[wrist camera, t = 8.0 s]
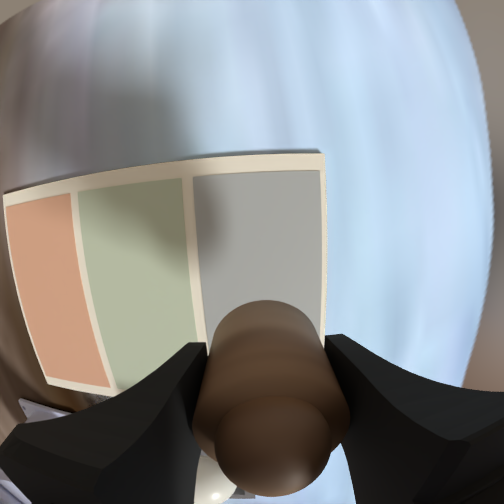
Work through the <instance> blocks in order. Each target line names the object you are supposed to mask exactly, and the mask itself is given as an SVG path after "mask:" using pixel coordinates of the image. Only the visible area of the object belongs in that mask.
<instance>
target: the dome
mask: <svg viewBox="0 0 504 504" xmlns="http://www.w3.org/2000/svg"><path fill="white" fill-rule="evenodd" d="M236 487H237V486H236V485H235V484H233V483H232V482H231V481H230V480H229V479H228V478H227V477H226V476H225V475H224V473H223V472H222V470H221V468H220V467H219V465H218V462H216V461H215V460H213V459H212V458H210V457H209V456H202V455H200V458H199V463H198V468H197V476H196V486H195V496H194V504H221V503H223V502H224V501H226V500H227V499H228V498H230V497H231V496H232V494H233V493H234V491H235V489H236Z"/></svg>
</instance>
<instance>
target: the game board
mask: <svg viewBox="0 0 504 504" xmlns="http://www.w3.org/2000/svg"><path fill="white" fill-rule="evenodd" d="M3 203H4V215H5V225H6V234H7V241H8V248H9V254H10V260H11V265H12V271H13V276H14V280H15V285H16V289H17V293H18V297H19V301H20V305H21V309H22V312H23V316H24V319H25V323H26V326H27V329H28V332H29V335H30V338H31V341H32V344H33V347H34V350H35V353H36V355H37V358H38V361H39V363H40V366H41V368H42V371H43V373H44V376H45V378H46V380H47V383H48V384H50V385H54V386H59V387H63V388H68V389H72V390H77V391H82V392H88V393H93V394H99V395H105V396H112V397H114V396H116V395H118V394H120V393H122V392H123V391H125V390H127V389H129V388H130V387H132V386H133V385H135V384H137V383H138V382H139V381H141V380H142V379H144V378H145V377H146V376H148V375H149V374H150V373H152V372H153V371H155V370H156V369H157V368H159V367H160V366H161V365H162V364H163V363H165V362H166V361H167V360H168V359H169V358H171V357H172V356H173V355H174V354H175V353H176V352H177V351H179V350H180V349H181V348H182V347H183V346H184V345H186V344H187V343H188V342H206V346H207V353H208V355H209V351H210V347H211V343H212V339H213V335H214V332H215V330H216V328H217V326H218V324H219V323H220V321H221V320H222V319H223V318H224V317H225V316H226V315H227V314H228V313H229V312H231V311H232V310H234V309H235V308H237V307H239V306H241V305H243V304H246V303H249V302H253V301H259V300H274V301H280V302H284V303H287V304H290V305H292V306H294V307H296V308H298V309H299V310H300V311H302V312H303V313H304V314H305V315H306V316H307V317H308V318H309V319H310V320H311V322H312V323H313V325H314V327H315V329H316V332H317V334H318V336H319V338H320V341H321V343H322V345H323V348H324V338H325V319H326V293H327V200H326V174H325V155H324V154H263V155H243V156H227V157H214V158H202V159H191V160H182V161H173V162H164V163H156V164H149V165H142V166H135V167H128V168H122V169H116V170H110V171H104V172H99V173H93V174H88V175H83V176H78V177H73V178H69V179H64V180H60V181H55V182H51V183H47V184H42V185H38V186H34V187H30V188H27V189H23V190H19V191H16V192H12V193H8V194H5V195H3Z"/></svg>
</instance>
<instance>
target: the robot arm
mask: <svg viewBox="0 0 504 504" xmlns="http://www.w3.org/2000/svg"><path fill="white" fill-rule="evenodd" d="M324 350H325V352H326V355H327V357H328V359H329V361H330V364H331V366H332V368H333V371H334V373H335V376H336V378H337V380H338V383H339V385H340V387H341V390H342V392H343V394H344V397H345V399H346V402H347V404H348V407H349V410H350V425H349V428H348V431H347V433H346V435H345V437H344V439H343V440H342V441H341V444H342V447H343V450H344V452H345V456H346V459H347V462H348V466H349V471H350V475H351V480H352V484H353V490H354V495H355V500H356V504H504V392H489V391H479V390H472V389H465V388H460V387H455V386H451V385H447V384H443V383H439V382H436V381H433V380H430V379H427V378H424V377H421V376H419V375H416V374H414V373H411V372H409V371H406V370H404V369H402V368H400V367H398V366H396V365H394V364H392V363H390V362H388V361H387V360H385V359H383V358H381V357H379V356H378V355H376V354H374V353H373V352H371V351H369V350H368V349H366V348H364V347H363V346H361V345H360V344H358V343H357V342H355V341H353V340H352V339H350V338H349V337H347V336H345V335H343V334H336V335H326V336H325V342H324ZM207 359H208V353H207V346H206V342H188V343H187V344H186V345H184V346H183V347H182V348H181V349H180V350H179V351H177V352H176V353H175V354H174V355H173V356H172V357H171V358H169V359H168V360H167V361H166V362H165V363H163V364H162V365H161V366H160V367H159V368H157V369H156V370H155V371H153V372H152V373H150V374H149V375H148V376H146V377H145V378H144V379H142V380H141V381H139V382H138V383H137V384H135V385H133V386H132V387H130V388H129V389H127V390H125V391H123V392H122V393H120V394H118V395H116V396H114V397H112V398H110V399H108V400H106V401H104V402H101V403H99V404H97V405H94V406H92V407H89V408H87V409H84V410H82V411H79V412H75V413H68V412H64V411H60V410H57V409H53V408H50V407H47V406H43V405H40V404H37V403H34V402H31V401H28V400H25V399H22V398H20V399H19V400H18V401H19V404H20V406H21V408H22V409H23V411H24V413H25V415H26V417H27V418H28V419H27V420H26V422H25V423H22V424H17V426H16V427H15V428H14V429H13V430H12V432H11V433H10V434H9V435H8V437H7V438H6V439H5V441H4V442H3V443H2V444H1V446H0V504H194V496H195V486H196V476H197V468H198V463H199V458H200V454H201V450H202V449H201V448H200V447H199V445H198V444H197V442H196V440H195V437H194V435H193V430H192V421H193V417H194V413H195V408H196V404H197V400H198V396H199V392H200V388H201V383H202V379H203V375H204V371H205V367H206V363H207Z"/></svg>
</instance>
